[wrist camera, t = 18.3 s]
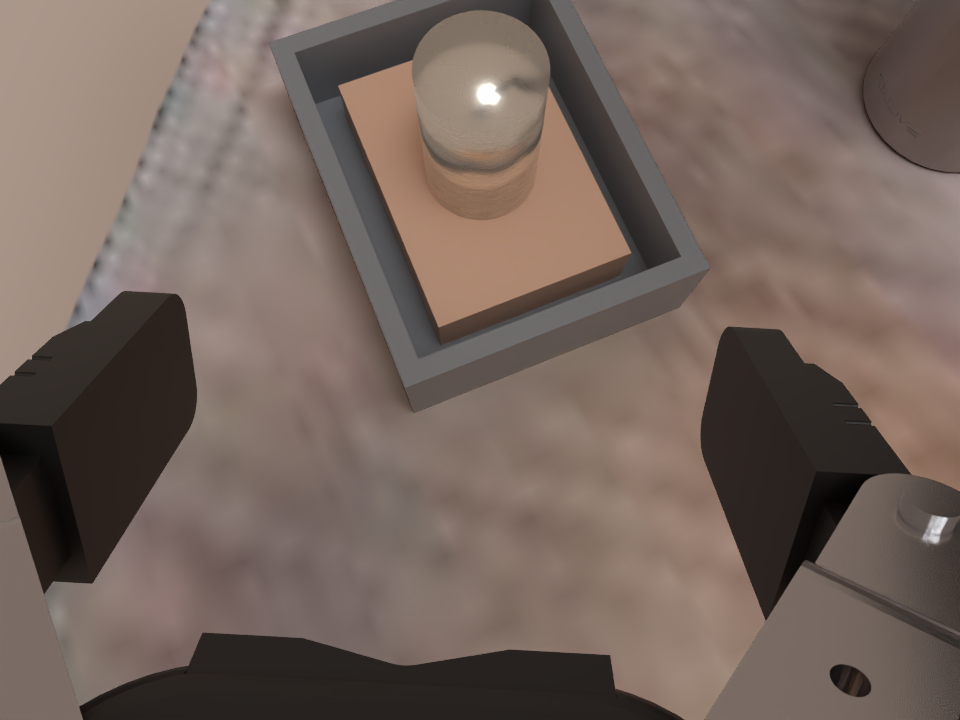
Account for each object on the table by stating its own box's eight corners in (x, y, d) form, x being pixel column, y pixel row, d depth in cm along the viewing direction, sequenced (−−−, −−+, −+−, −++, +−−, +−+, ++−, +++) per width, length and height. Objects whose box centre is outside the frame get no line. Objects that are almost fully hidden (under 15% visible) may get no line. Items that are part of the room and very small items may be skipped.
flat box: (514, 60, 44) (517, 24, 41) (619, 275, 40) (631, 253, 38) (346, 118, 43) (338, 85, 40) (440, 345, 39) (438, 327, 36)
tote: (536, 23, 46) (544, -50, 40) (679, 307, 41) (710, 267, 36) (292, 106, 44) (268, 42, 39) (414, 412, 39) (405, 387, 34)
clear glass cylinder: (507, 104, 40) (513, -9, 32) (555, 193, 38) (574, 99, 31) (408, 145, 39) (390, 39, 31) (453, 237, 38) (446, 151, 30)
